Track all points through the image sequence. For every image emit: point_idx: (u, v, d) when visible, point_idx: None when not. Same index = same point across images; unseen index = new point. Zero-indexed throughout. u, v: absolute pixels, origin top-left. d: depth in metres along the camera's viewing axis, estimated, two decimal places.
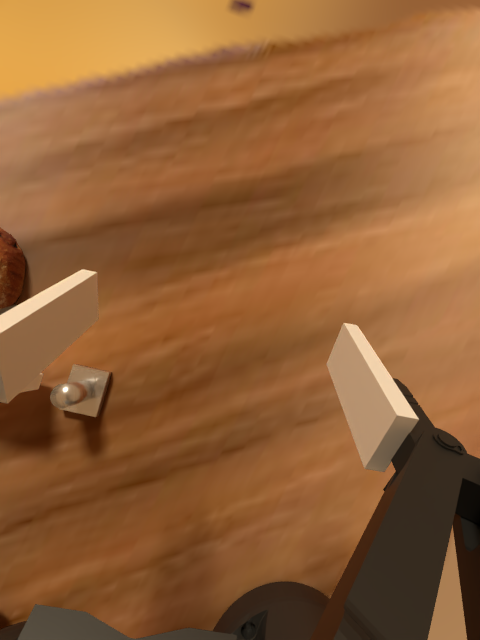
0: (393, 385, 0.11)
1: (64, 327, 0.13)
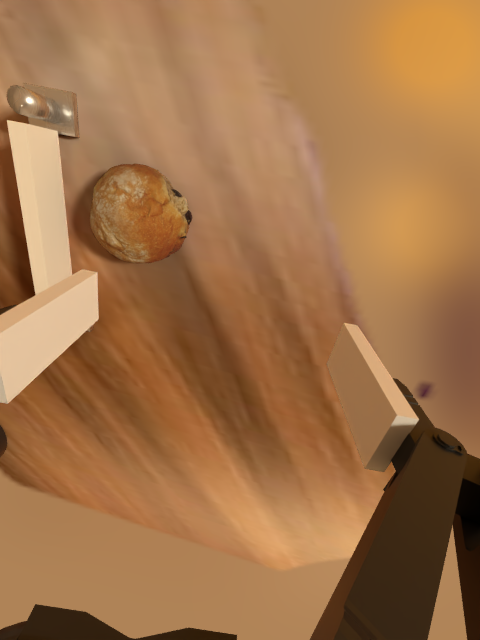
0: (393, 385, 0.11)
1: (64, 327, 0.13)
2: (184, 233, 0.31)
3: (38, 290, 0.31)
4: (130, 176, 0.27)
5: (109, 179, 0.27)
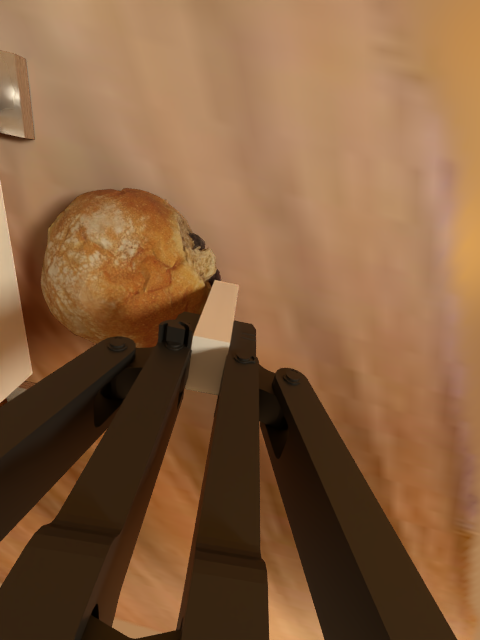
0: (229, 322, 0.13)
1: None
2: None
3: None
4: (112, 217, 0.14)
5: (71, 221, 0.14)
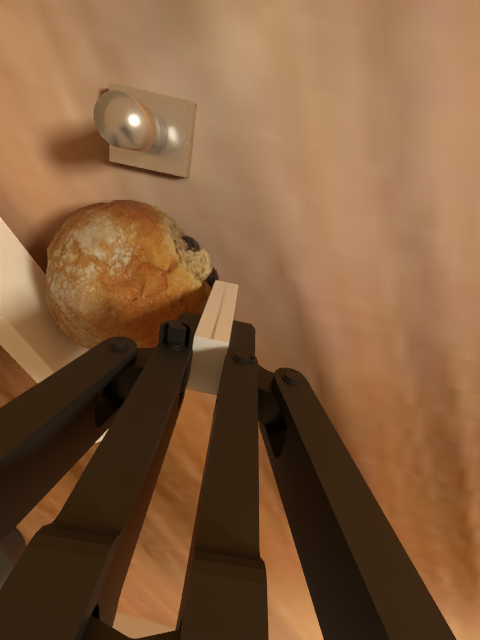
0: (229, 322, 0.13)
1: None
2: None
3: None
4: (103, 228, 0.14)
5: (66, 238, 0.15)
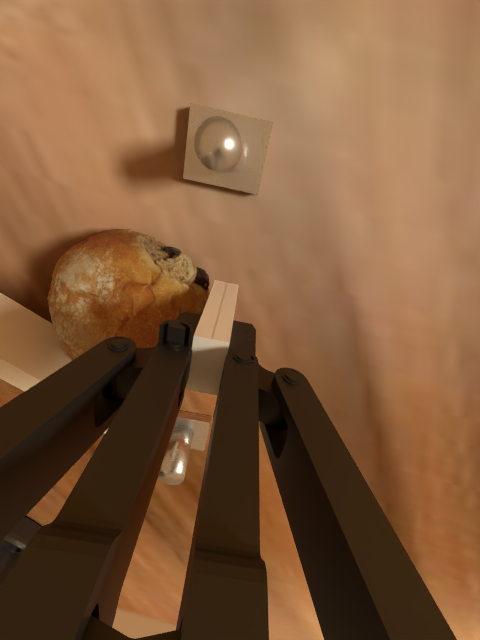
0: (229, 322, 0.13)
1: None
2: None
3: None
4: (82, 263, 0.15)
5: (55, 282, 0.16)
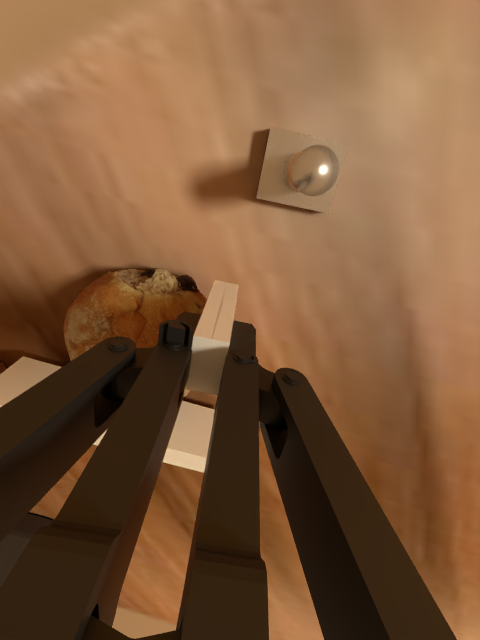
0: (229, 322, 0.13)
1: None
2: (200, 310, 0.18)
3: (198, 467, 0.20)
4: (76, 317, 0.17)
5: (66, 343, 0.18)
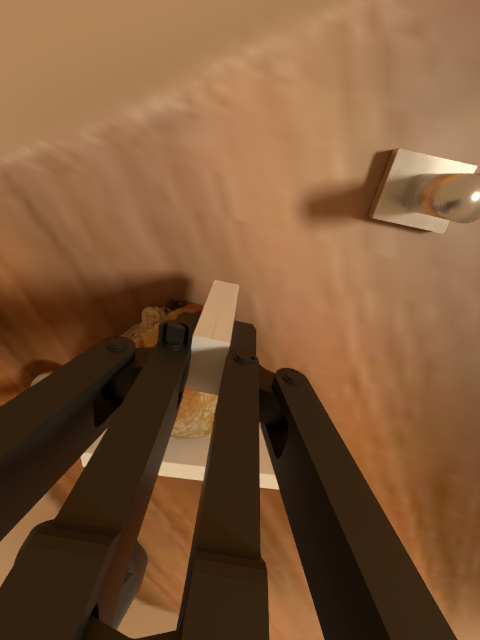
0: (230, 322, 0.13)
1: None
2: None
3: None
4: None
5: None
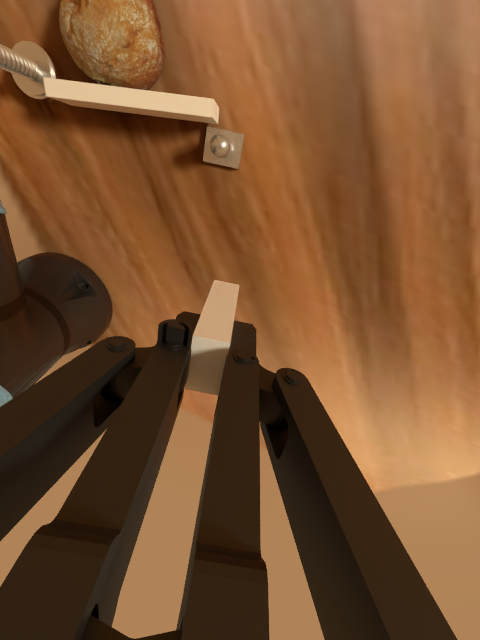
0: (230, 322, 0.13)
1: None
2: None
3: (197, 111, 0.29)
4: (60, 21, 0.27)
5: (72, 48, 0.28)
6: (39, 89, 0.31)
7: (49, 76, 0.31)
